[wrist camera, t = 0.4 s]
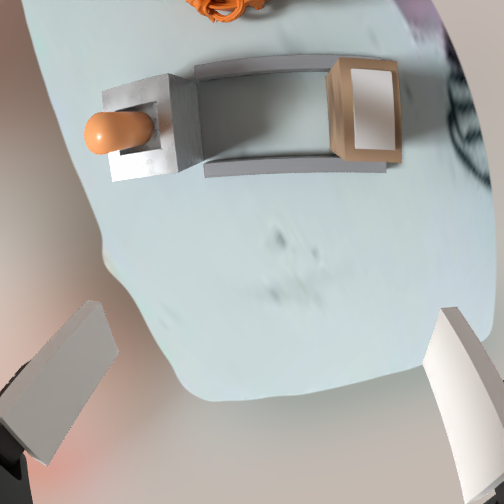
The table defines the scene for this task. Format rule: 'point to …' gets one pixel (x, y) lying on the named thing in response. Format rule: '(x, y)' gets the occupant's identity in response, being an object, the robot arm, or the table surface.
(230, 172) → the guide channel
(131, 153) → the grey block with hole
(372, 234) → the table surface
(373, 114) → the carriage
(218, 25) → the table surface
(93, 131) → the orange rounded peg
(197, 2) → the orange figurine
